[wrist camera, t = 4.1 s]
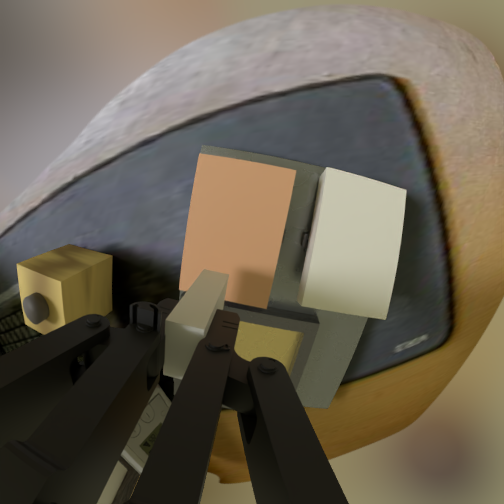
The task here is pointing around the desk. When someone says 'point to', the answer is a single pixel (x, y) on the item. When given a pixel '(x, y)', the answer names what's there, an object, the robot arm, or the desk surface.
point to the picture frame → (119, 484)
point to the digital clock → (146, 430)
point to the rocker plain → (353, 245)
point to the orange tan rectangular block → (237, 225)
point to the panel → (295, 302)
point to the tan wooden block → (64, 286)
